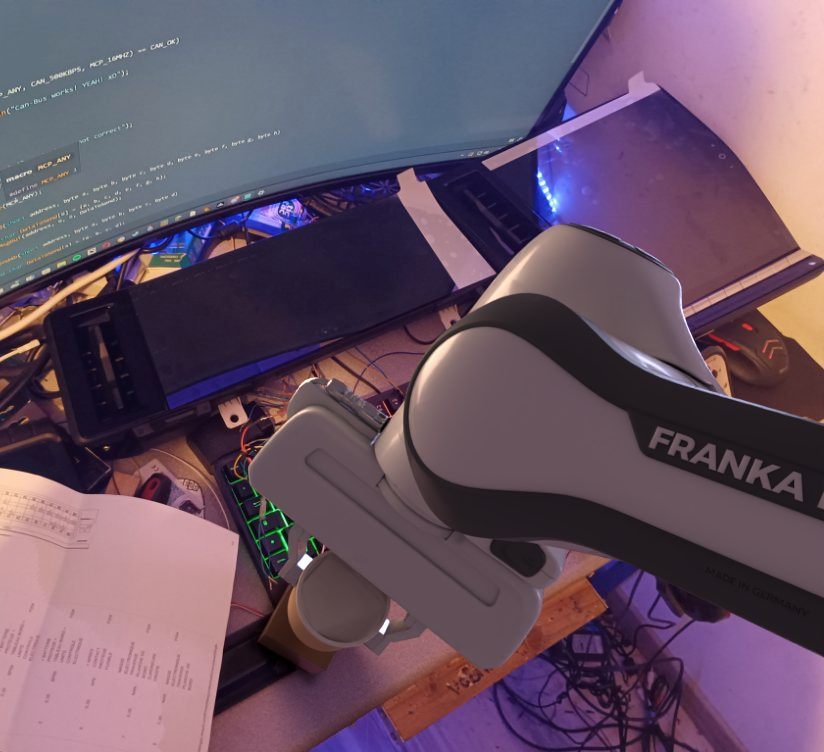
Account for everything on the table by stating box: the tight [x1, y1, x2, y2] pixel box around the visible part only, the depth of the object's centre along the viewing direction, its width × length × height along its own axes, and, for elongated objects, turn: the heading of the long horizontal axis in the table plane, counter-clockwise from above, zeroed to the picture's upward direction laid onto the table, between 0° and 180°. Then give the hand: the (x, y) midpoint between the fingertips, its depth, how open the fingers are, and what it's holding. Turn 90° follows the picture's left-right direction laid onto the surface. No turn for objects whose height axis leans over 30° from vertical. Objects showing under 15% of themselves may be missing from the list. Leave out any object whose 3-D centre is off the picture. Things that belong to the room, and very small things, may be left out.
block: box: [257, 583, 338, 674], centre depth 66 cm, size 6×6×11 cm
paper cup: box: [288, 549, 392, 652], centre depth 49 cm, size 6×6×8 cm
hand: (330, 611), depth 49 cm, fingers closed on paper cup, 6 cm apart
